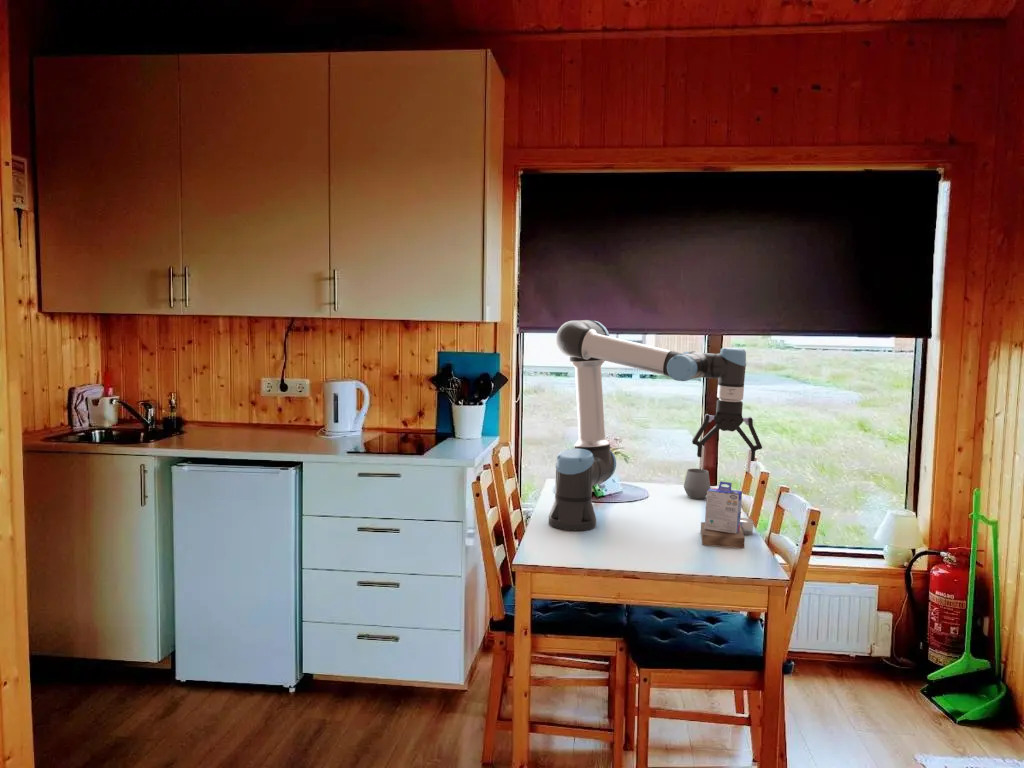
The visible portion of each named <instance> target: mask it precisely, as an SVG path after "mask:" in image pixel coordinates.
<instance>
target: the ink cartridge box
mask: <svg viewBox="0 0 1024 768" xmlns="http://www.w3.org/2000/svg"><path fill="white" fill-rule="evenodd" d="M723 485H727V486H723ZM742 497H743V491H742V490H735V489H734V490H733V489H732V482H727V481H719V485H718V488H714V487H710V489H709V490H708V491H707V495H706V497H705V498H706V500H705V501H706V502H705V515H704V516H705V517H704V522H705V529H707V530H714V531H721V532H728V533H734V534H737V533H738V531H739V530H740V518H742V517H741V515H742V514H741V513H742V500H743V499H742Z"/></svg>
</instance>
